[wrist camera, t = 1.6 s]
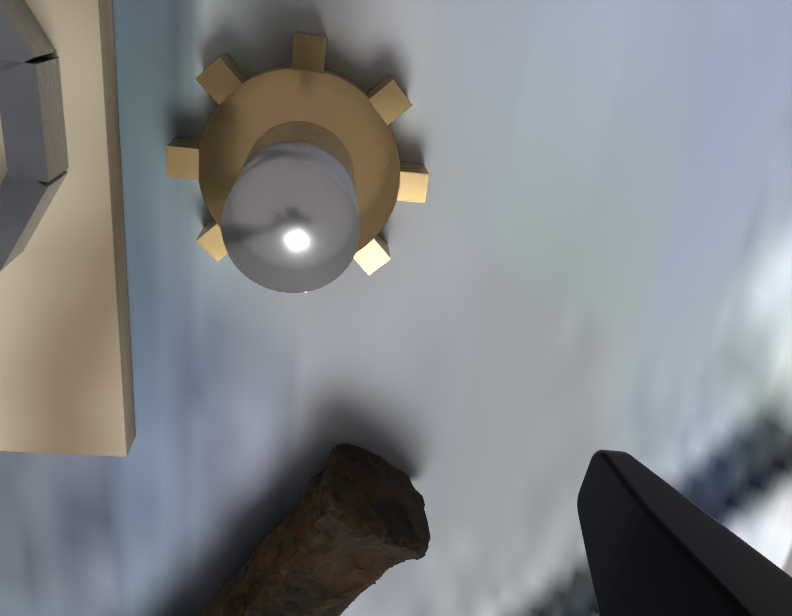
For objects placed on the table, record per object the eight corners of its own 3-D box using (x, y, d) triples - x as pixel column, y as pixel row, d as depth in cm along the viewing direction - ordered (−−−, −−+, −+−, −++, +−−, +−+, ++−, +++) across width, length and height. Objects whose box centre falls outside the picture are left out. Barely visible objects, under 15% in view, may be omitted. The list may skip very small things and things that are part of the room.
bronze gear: (177, 266, 22) (127, 360, 16) (173, 15, 18) (108, 30, 13) (405, 285, 23) (428, 380, 17) (441, 51, 19) (482, 79, 14)
